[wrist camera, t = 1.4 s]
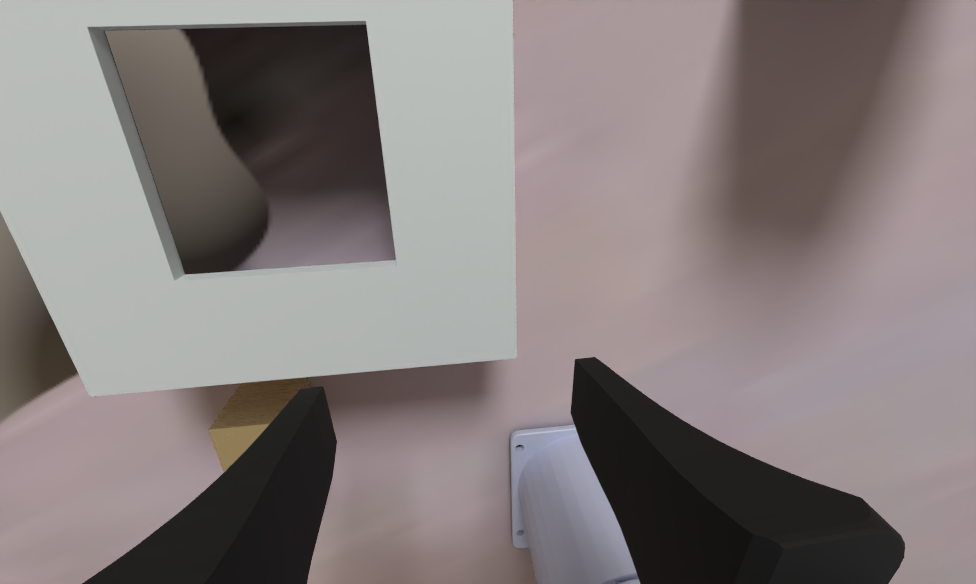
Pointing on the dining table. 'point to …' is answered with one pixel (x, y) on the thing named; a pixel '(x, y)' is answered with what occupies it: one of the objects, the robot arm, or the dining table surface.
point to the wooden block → (250, 415)
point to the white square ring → (280, 291)
